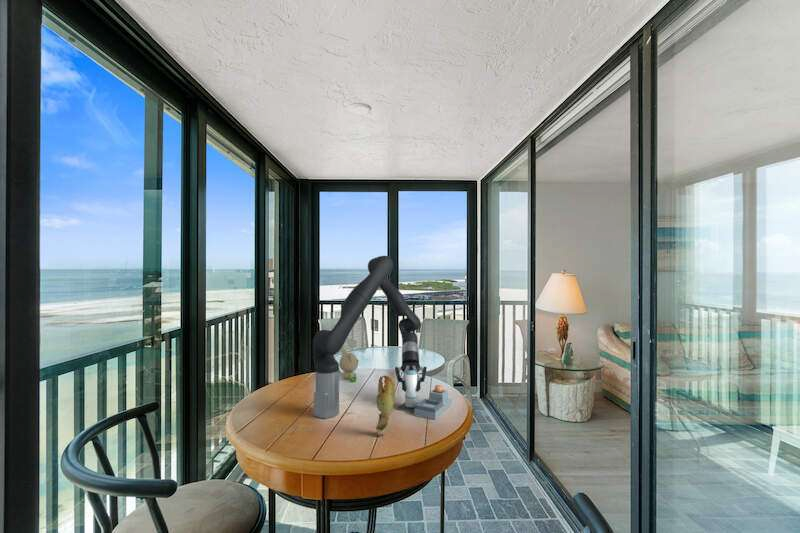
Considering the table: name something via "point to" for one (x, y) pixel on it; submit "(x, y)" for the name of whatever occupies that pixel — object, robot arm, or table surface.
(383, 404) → the crab claw
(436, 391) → the plunger
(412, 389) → the cartridge
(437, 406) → the housing
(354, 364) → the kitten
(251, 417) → the table surface
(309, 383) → the table surface
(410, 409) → the pad
